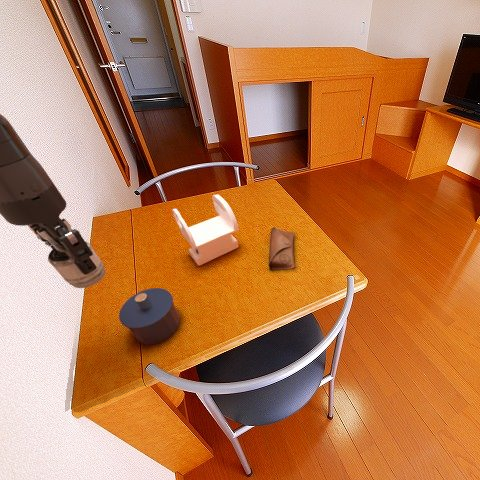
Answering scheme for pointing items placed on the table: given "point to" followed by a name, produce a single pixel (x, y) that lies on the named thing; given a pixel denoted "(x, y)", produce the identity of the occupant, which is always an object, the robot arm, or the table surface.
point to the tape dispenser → (210, 233)
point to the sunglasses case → (281, 250)
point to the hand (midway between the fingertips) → (79, 264)
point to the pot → (159, 329)
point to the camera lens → (76, 269)
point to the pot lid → (146, 308)
